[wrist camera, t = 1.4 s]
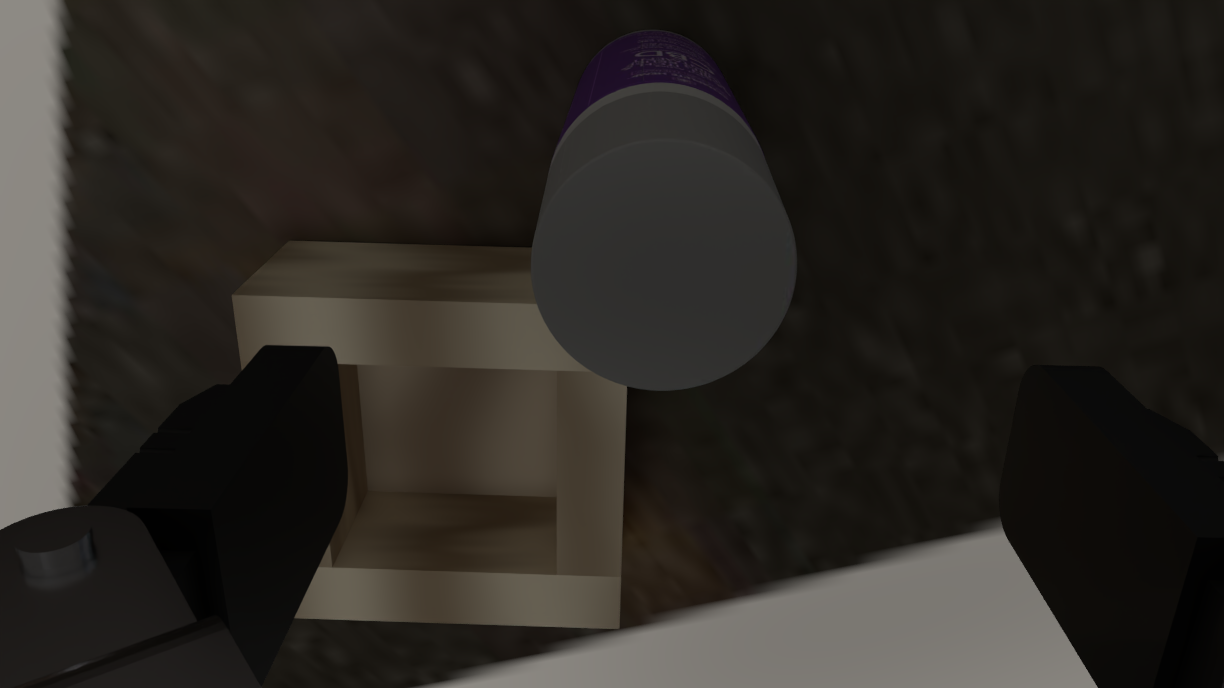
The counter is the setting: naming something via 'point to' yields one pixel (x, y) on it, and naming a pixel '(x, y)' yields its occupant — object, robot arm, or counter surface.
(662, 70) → the container
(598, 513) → the socket block
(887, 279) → the counter surface
